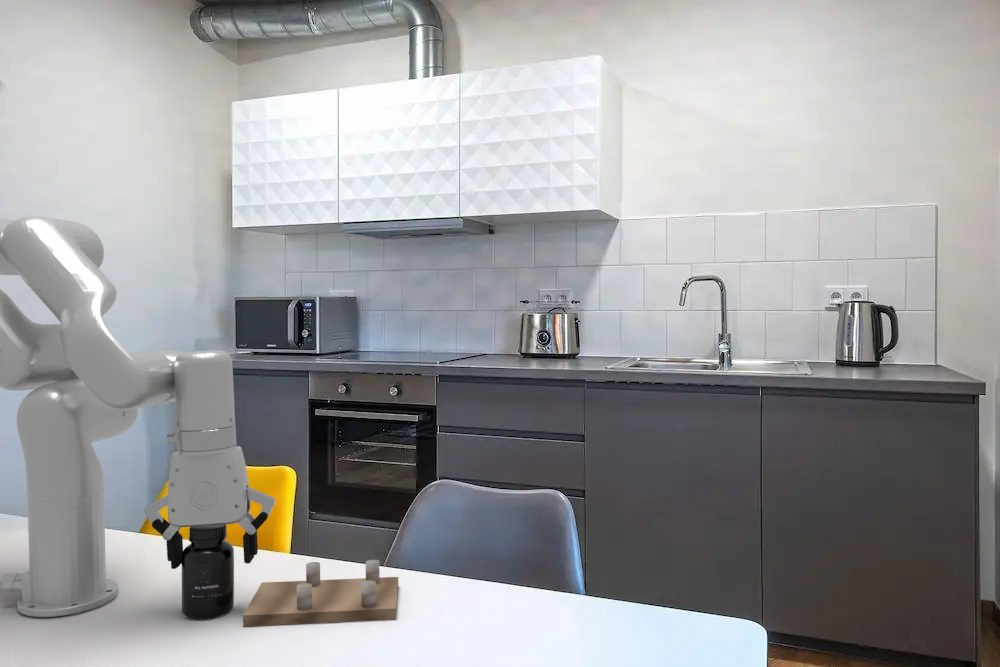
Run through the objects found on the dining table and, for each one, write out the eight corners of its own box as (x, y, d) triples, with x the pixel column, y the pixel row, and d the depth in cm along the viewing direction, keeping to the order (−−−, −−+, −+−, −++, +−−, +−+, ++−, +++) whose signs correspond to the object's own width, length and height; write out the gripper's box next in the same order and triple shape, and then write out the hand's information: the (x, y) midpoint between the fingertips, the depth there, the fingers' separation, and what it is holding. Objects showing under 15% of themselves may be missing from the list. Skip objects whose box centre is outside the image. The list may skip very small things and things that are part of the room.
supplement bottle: (199, 625, 101) (197, 536, 100) (172, 612, 105) (170, 527, 104) (244, 608, 106) (243, 523, 106) (216, 597, 110) (215, 515, 110)
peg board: (243, 626, 100) (242, 593, 100) (261, 592, 112) (261, 562, 112) (396, 619, 102) (395, 586, 102) (398, 586, 114) (398, 557, 114)
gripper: (131, 448, 100) (138, 577, 100) (266, 441, 102) (272, 567, 102) (151, 439, 107) (158, 559, 108) (276, 432, 109) (282, 550, 110)
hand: (213, 563), depth 105 cm, fingers open, 9 cm apart
